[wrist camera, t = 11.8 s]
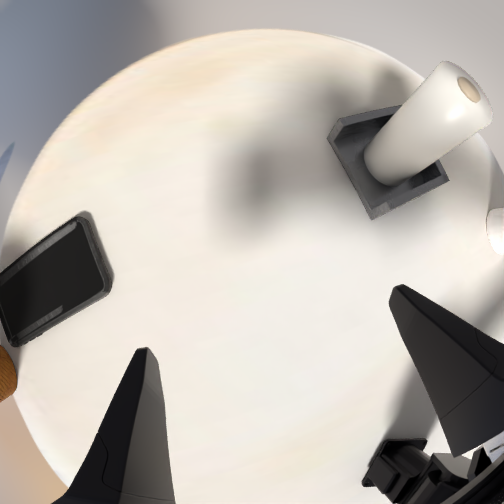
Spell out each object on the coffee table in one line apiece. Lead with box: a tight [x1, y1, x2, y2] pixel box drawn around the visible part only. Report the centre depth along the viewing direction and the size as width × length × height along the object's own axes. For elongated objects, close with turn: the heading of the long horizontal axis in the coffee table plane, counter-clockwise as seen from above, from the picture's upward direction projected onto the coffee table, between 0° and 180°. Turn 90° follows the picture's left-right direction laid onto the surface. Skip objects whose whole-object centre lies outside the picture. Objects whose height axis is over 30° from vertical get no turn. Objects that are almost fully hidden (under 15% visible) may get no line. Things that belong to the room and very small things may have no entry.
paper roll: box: [364, 61, 493, 186], centre depth 18 cm, size 5×5×13 cm
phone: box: [0, 217, 112, 347], centre depth 21 cm, size 8×1×15 cm
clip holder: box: [327, 105, 449, 220], centre depth 24 cm, size 9×9×4 cm
